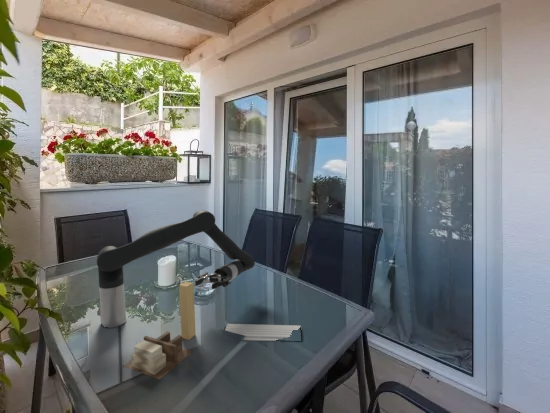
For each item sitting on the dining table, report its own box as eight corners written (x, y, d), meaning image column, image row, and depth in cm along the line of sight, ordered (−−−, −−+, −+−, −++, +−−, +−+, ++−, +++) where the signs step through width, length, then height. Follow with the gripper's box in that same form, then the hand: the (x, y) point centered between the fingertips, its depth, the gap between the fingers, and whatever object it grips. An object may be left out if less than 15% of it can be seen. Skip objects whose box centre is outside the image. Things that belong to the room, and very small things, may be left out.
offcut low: (132, 366, 101) (131, 355, 100) (144, 357, 105) (143, 346, 105) (154, 374, 97) (154, 363, 96) (166, 365, 101) (165, 354, 101)
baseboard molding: (302, 345, 116) (300, 329, 128) (302, 338, 116) (300, 322, 128) (221, 343, 118) (227, 327, 129) (221, 336, 117) (227, 320, 129)
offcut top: (134, 354, 100) (134, 346, 100) (144, 348, 104) (144, 340, 104) (152, 361, 97) (152, 352, 97) (162, 354, 101) (161, 345, 100)
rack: (123, 369, 101) (121, 348, 100) (159, 344, 116) (158, 325, 115) (159, 383, 95) (158, 361, 94) (193, 355, 109) (192, 335, 108)
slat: (181, 339, 118) (179, 284, 115) (188, 334, 121) (186, 281, 118) (188, 341, 116) (186, 286, 113) (195, 336, 120) (193, 282, 117)
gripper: (213, 263, 144) (190, 273, 129) (239, 267, 138) (218, 279, 123) (213, 278, 145) (190, 290, 130) (239, 283, 139) (218, 297, 124)
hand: (204, 285), depth 127 cm, fingers open, 8 cm apart
